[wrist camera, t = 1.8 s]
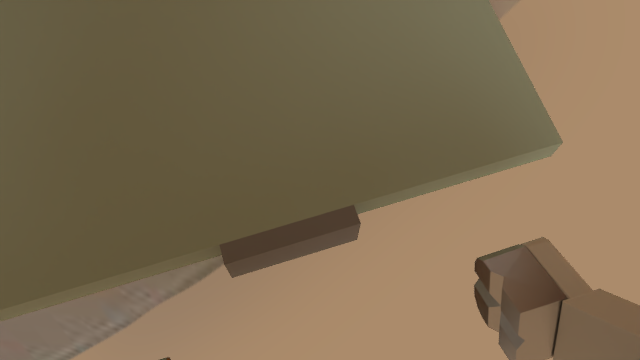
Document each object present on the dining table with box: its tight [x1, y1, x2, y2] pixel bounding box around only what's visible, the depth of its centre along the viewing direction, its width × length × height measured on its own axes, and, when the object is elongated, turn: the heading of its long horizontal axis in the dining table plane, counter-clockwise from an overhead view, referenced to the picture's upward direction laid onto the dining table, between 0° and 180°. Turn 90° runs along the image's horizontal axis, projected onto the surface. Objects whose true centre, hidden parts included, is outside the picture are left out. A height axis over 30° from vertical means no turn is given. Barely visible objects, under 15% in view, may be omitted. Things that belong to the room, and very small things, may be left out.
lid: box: [0, 0, 563, 321], centre depth 20 cm, size 13×17×2 cm
